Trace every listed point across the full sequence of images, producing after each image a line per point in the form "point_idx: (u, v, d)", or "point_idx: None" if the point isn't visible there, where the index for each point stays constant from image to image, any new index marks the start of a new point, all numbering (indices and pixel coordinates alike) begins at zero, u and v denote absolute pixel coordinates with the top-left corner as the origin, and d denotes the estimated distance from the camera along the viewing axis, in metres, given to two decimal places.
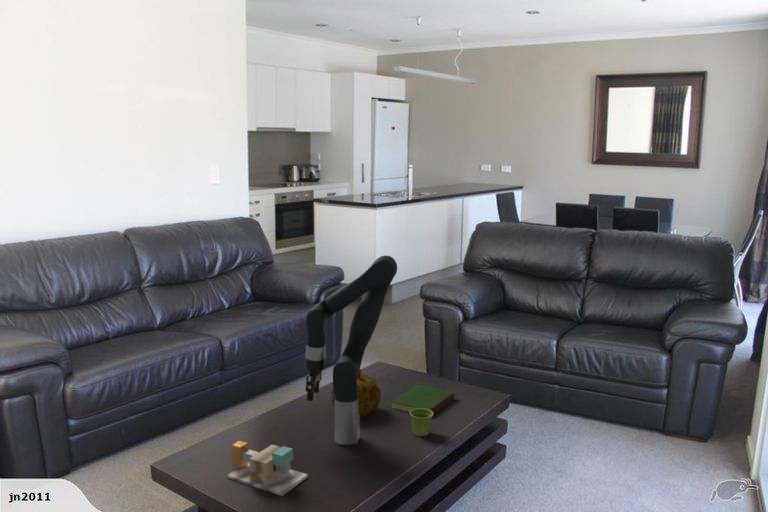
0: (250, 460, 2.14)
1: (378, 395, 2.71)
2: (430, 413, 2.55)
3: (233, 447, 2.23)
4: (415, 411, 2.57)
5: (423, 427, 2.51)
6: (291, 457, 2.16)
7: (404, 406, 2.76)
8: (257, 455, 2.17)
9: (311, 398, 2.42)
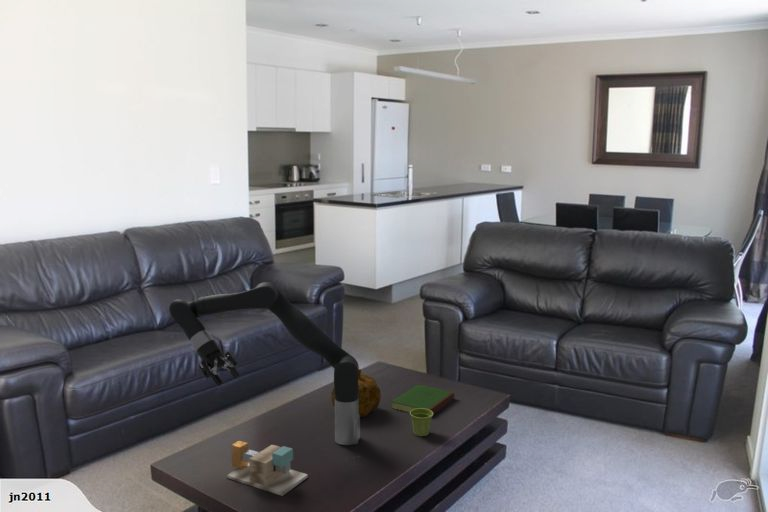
0: (250, 460, 2.14)
1: (378, 395, 2.71)
2: (430, 413, 2.55)
3: (233, 447, 2.23)
4: (415, 411, 2.57)
5: (423, 427, 2.51)
6: (291, 457, 2.16)
7: (404, 406, 2.76)
8: (257, 455, 2.17)
9: (218, 381, 2.25)
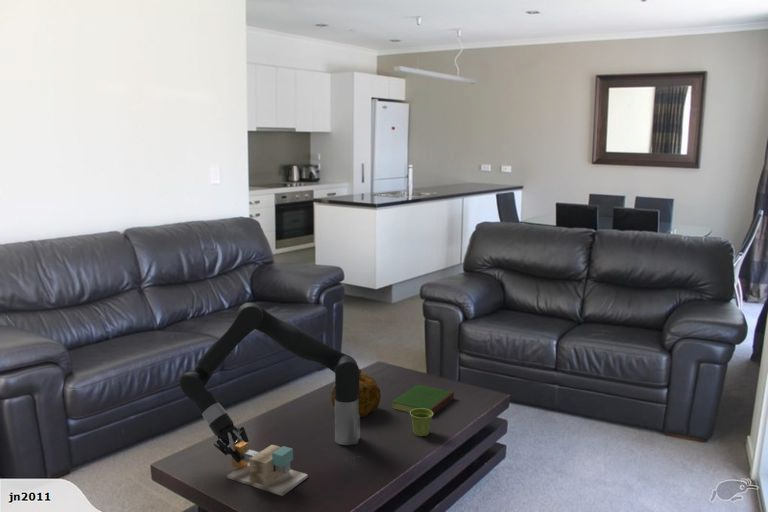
0: (250, 460, 2.14)
1: (378, 395, 2.71)
2: (430, 413, 2.55)
3: None
4: (415, 411, 2.57)
5: (423, 427, 2.51)
6: (291, 457, 2.16)
7: (405, 406, 2.76)
8: (257, 455, 2.17)
9: (237, 458, 2.21)
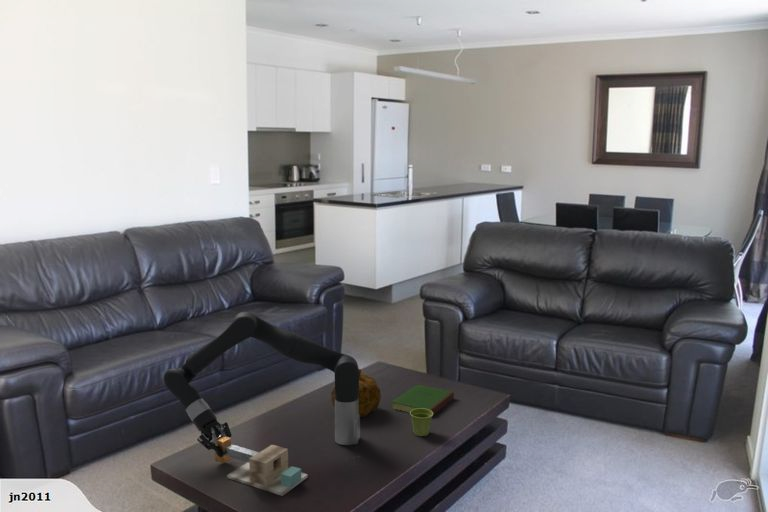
0: (250, 460, 2.14)
1: (378, 395, 2.71)
2: (430, 413, 2.55)
3: None
4: (415, 411, 2.57)
5: (423, 427, 2.51)
6: None
7: (405, 406, 2.76)
8: (257, 455, 2.17)
9: (220, 453, 2.25)
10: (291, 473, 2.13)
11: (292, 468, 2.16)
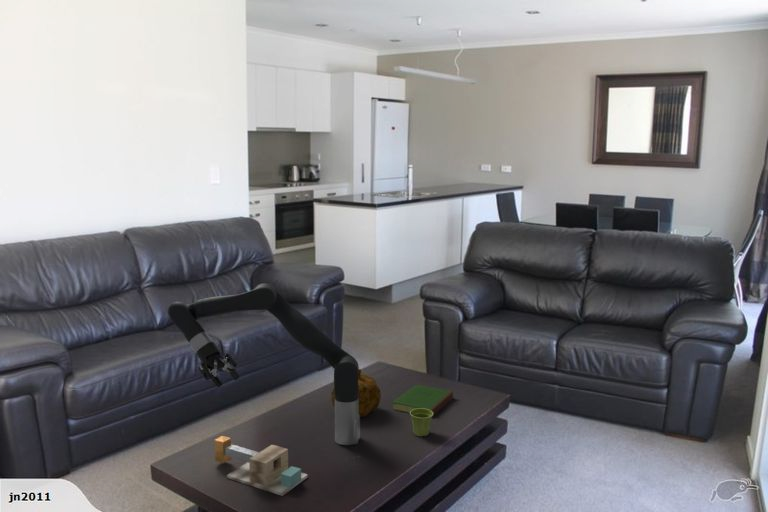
0: (250, 460, 2.14)
1: (378, 395, 2.71)
2: (430, 413, 2.55)
3: (216, 442, 2.27)
4: (415, 411, 2.57)
5: (423, 427, 2.51)
6: None
7: (405, 407, 2.76)
8: (257, 455, 2.17)
9: (218, 383, 2.25)
10: (291, 473, 2.13)
11: (292, 468, 2.16)
